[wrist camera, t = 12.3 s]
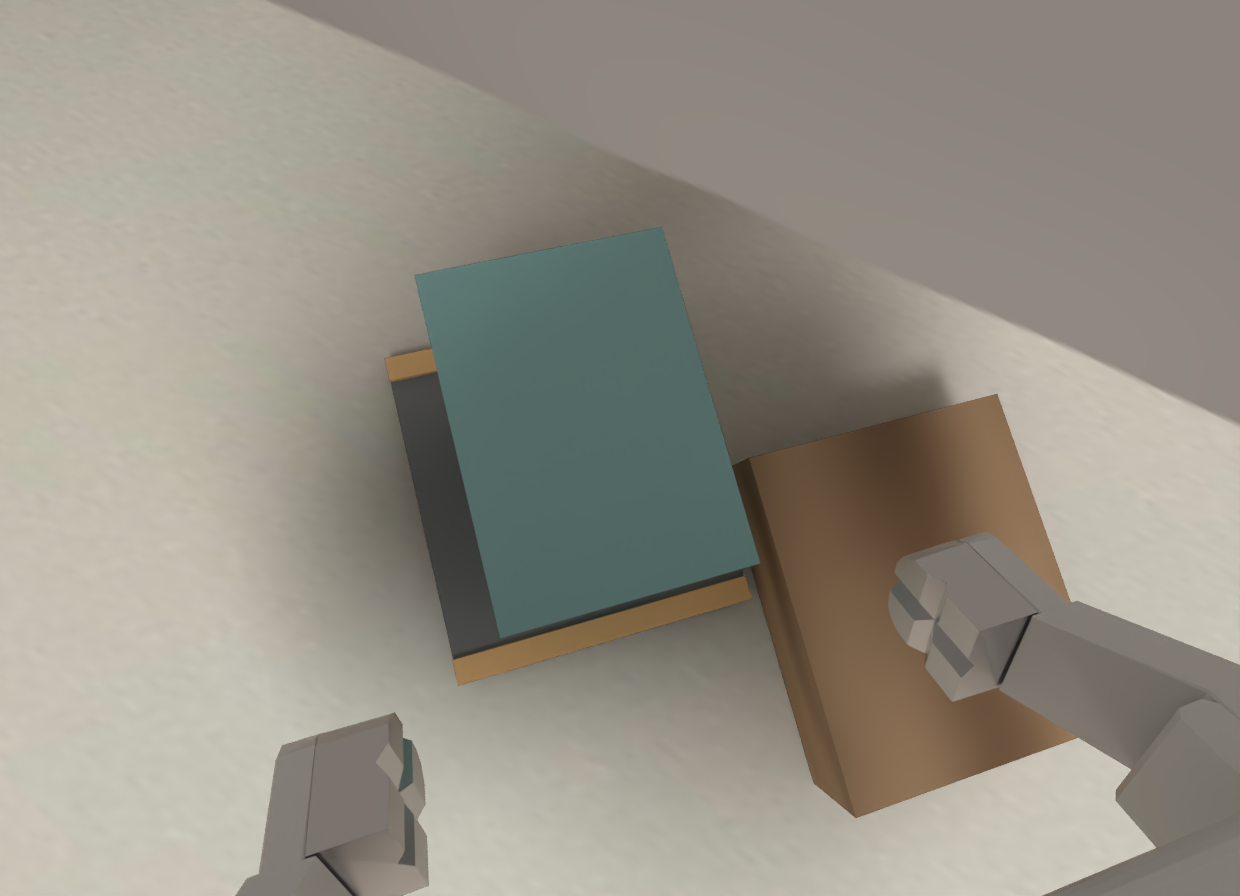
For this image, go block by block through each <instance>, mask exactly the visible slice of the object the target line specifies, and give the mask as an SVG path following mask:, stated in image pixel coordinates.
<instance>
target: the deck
mask: <svg viewBox="0 0 1240 896" xmlns="http://www.w3.org/2000/svg"><path fill="white" fill-rule="evenodd" d="M732 468H733V472H734V475H735V479H736V482H737V485H738V489H739V492H740V496H741V499H742V503H743V506H744V509H745V513H746V516H747V520H748V523H749V526H750V530H751V533H752V537H753V540H754V543H755V547H756V550H757V554H758V557H759V561H760V564H757V565H753V566H751V568H752V572H753V575H754V579H755V582H756V586H757V589H758V592H759V596H760V599H761V603H762V606H763V610H764V613H765V617H766V620H767V623H768V627H769V630H770V634H771V637H772V641H773V644H774V648H775V651H776V654H777V658H778V661H779V665H780V668H781V672H782V675H783V678H784V682H785V685H786V689H787V692H788V696H789V699H790V703H791V706H792V709H793V713H794V716H795V720H796V723H797V727H798V730H799V734H800V737H801V740H802V744H803V747H804V751H805V754H806V758H807V761H808V765H809V768H810V771H811V775H812V778H813V782H814V784H815V785H817V786H818V787H819V788H820V789H821V790H823V791H824V792H825V793H826V794H828V795H829V796H830V797H831V798H832V799H834V800H835V801H836V802H837V803H838V804H840V805H841V806H842V807H843V808H844V809H846V810H847V811H848V812H849V813H850V814H852V815H853V816H854V817H855V818H858V817H860V816H863V815H866V814H869V813H871V812H874V811H877V810H880V809H882V808H885V807H888V806H891V805H893V804H896V803H899V802H902V801H904V800H907V799H910V798H913V797H915V796H918V795H921V794H924V793H927V792H929V791H932V790H935V789H938V788H940V787H943V786H946V785H949V784H951V783H954V782H957V781H960V780H962V779H965V778H968V777H971V776H973V775H976V774H979V773H982V772H984V771H987V770H990V769H993V768H996V767H998V766H1001V765H1004V764H1007V763H1009V762H1012V761H1015V760H1018V759H1020V758H1023V757H1026V756H1029V755H1031V754H1034V753H1037V752H1040V751H1042V750H1045V749H1048V748H1051V747H1054V746H1056V745H1059V744H1062V743H1065V742H1067V741H1070V740H1073V739H1076V738H1078V737H1077V736H1075V735H1073V734H1072V733H1070V732H1068V731H1067V730H1065V729H1063V728H1062V727H1060V726H1058V725H1057V724H1055V723H1053V722H1052V721H1050V720H1048V719H1047V718H1045V717H1043V716H1042V715H1040V714H1038V713H1037V712H1035V711H1033V710H1032V709H1030V708H1028V707H1027V706H1025V705H1023V704H1022V703H1020V702H1018V701H1017V700H1015V699H1013V698H1012V697H1010V696H1008V695H1007V694H1005V693H1003V692H1002V691H1000V690H999V689H1000V687H998V688H995V689H991V690H988V691H985V692H982V693H979V694H976V695H973V696H969V697H966V698H963V699H960V700H957V701H954V702H952V701H951V700H950V699H949V697H948V696H947V695H946V694H945V692H944V691H943V690H942V688H941V687H940V686H939V685H938V683H937V682H936V681H935V680H934V678H933V677H932V676H931V674H930V673H929V672H928V671H927V669H926V668H925V655H924V653H923V652H921V651H919V650H917V649H915V648H913V647H911V646H909V645H907V644H906V642H905V641H904V640H903V638H902V637H901V636H900V634H899V633H898V632H897V630H896V628H895V626H894V624H893V622H892V620H891V616H890V612H889V608H888V600H889V594H890V590H891V589H892V588H893V587H894V586H895V585H896V583H897V582H898V581H899V580H900V579H899V578H898V576H897V575H896V574H895V573H894V572H895V568H896V564H897V562H898V561H899V560H900V559H901V558H902V557H903V556H906V555H909V554H912V553H915V552H919V551H922V550H925V549H928V548H931V547H934V546H937V545H940V544H943V543H946V542H949V541H952V540H954V541H956V540H959V539H962V538H965V537H968V536H971V535H974V534H977V533H982V532H987V533H990V534H992V535H994V536H995V537H997V538H998V539H999V540H1000V541H1001V542H1002V543H1003V544H1005V545H1006V546H1007V547H1008V548H1009V549H1010V550H1011V551H1012V552H1013V553H1014V554H1016V555H1017V556H1018V557H1019V558H1020V559H1021V560H1022V561H1023V562H1024V563H1025V564H1027V565H1028V566H1029V567H1030V568H1031V569H1032V570H1033V571H1034V572H1035V573H1036V574H1038V575H1039V576H1040V577H1041V578H1042V579H1043V580H1044V581H1045V582H1046V583H1047V584H1048V585H1050V586H1051V587H1052V588H1053V589H1054V590H1055V591H1056V592H1057V593H1058V594H1059V595H1061V596H1062V597H1063V598H1064V599H1065V600H1066V601H1067V602H1068V603H1071V602H1070V599H1069V596H1068V593H1067V590H1066V588H1065V585H1064V582H1063V579H1062V576H1061V573H1060V571H1059V568H1058V565H1057V562H1056V559H1055V556H1054V554H1053V551H1052V548H1051V545H1050V542H1049V539H1048V537H1047V534H1046V531H1045V528H1044V525H1043V522H1042V520H1041V517H1040V514H1039V511H1038V508H1037V505H1036V503H1035V500H1034V497H1033V494H1032V491H1031V488H1030V486H1029V483H1028V480H1027V477H1026V474H1025V471H1024V469H1023V466H1022V463H1021V460H1020V457H1019V455H1018V452H1017V449H1016V446H1015V443H1014V440H1013V438H1012V435H1011V432H1010V429H1009V426H1008V423H1007V421H1006V418H1005V415H1004V412H1003V409H1002V406H1001V404H1000V401H999V398H998V395H997V394H995V395H991V396H987V397H983V398H979V399H975V400H971V401H967V402H964V403H960V404H956V405H952V406H948V407H944V408H940V409H937V410H933V411H929V412H925V413H921V414H917V415H913V416H910V417H906V418H902V419H898V420H894V421H890V422H886V423H883V424H879V425H875V426H871V427H867V428H863V429H859V430H856V431H852V432H848V433H844V434H840V435H836V436H832V437H829V438H825V439H821V440H817V441H813V442H809V443H805V444H802V445H798V446H794V447H790V448H786V449H782V450H778V451H774V452H771V453H767V454H763V455H759V456H755V457H751V458H748V459H746V460H744V461H742V462H740V463H738V464H736V465H734V466H732Z"/></svg>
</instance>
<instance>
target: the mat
mask: <svg viewBox="0 0 1240 896" xmlns="http://www.w3.org/2000/svg"><path fill="white" fill-rule="evenodd" d="M385 363H386V367H387V372H388V376H389V381H390V382H391V385H392V389H393V394H394V398H395V403H396V407H397V412H398V416H399V420H400V425H401V429H402V434H403V438H404V443H405V447H406V451H407V456H408V460H409V465H410V469H411V474H412V478H413V483H414V487H415V491H416V496H417V500H418V505H419V509H420V514H421V518H422V522H423V527H424V531H425V536H426V540H427V545H428V549H429V554H430V558H431V562H432V567H433V571H434V576H435V580H436V585H437V589H438V593H439V598H440V602H441V607H442V611H443V616H444V620H445V625H446V629H447V633H448V638H449V642H450V647H451V651H452V656H453V665H454V669H455V674H456V678H457V682H458V686H459V685H463V684H466V683H469V682H473V681H476V680H479V679H483V678H486V677H490V676H493V675H496V674H500V673H503V672H506V671H510V670H513V669H517V668H520V667H523V666H527V665H530V664H534V663H537V662H540V661H544V660H547V659H550V658H554V657H557V656H561V655H564V654H567V653H571V652H574V651H577V650H581V649H584V648H588V647H591V646H594V645H598V644H601V643H605V642H608V641H611V640H615V639H618V638H621V637H625V636H628V635H632V634H635V633H638V632H642V631H645V630H648V629H652V628H655V627H659V626H662V625H665V624H669V623H672V622H676V621H679V620H682V619H686V618H689V617H692V616H696V615H699V614H703V613H706V612H709V611H713V610H716V609H720V608H723V607H726V606H730V605H733V604H736V603H740V602H743V601H747V600H750V599H752V597H751V594H750V590H749V587H748V583H747V580H746V576H744V575H743V572H742V569H740V570H736V571H733V572H729V573H726V574H722V575H719V576H715V577H712V578H708V579H705V580H701V581H698V582H694V583H691V584H687V585H684V586H680V587H677V588H673V589H670V590H667V591H663V592H660V593H656V594H653V595H649V596H646V597H642V598H639V599H635V600H632V601H628V602H625V603H621V604H618V605H614V606H611V607H607V608H604V609H600V610H597V611H594V612H590V613H587V614H583V615H580V616H576V617H573V618H569V619H566V620H562V621H559V622H555V623H552V624H548V625H545V626H541V627H538V628H534V629H531V630H527V631H524V632H520V633H517V634H514V635H510V636H507V637H503V638H500V635H499V631H498V627H497V622H496V618H495V614H494V610H493V605H492V601H491V597H490V593H489V588H488V584H487V580H486V576H485V572H484V567H483V563H482V559H481V555H480V550H479V546H478V542H477V538H476V533H475V529H474V525H473V521H472V516H471V512H470V508H469V504H468V500H467V495H466V491H465V487H464V483H463V478H462V474H461V470H460V466H459V461H458V457H457V453H456V449H455V445H454V440H453V436H452V432H451V428H450V423H449V419H448V415H447V411H446V406H445V402H444V398H443V394H442V389H441V385H440V381H439V377H438V373H437V368H436V364H435V360H434V356H433V351H432V348H431V349H426V350H422V351H417V352H412V353H408V354H403V355H398V356H393V357H389V358H385Z"/></svg>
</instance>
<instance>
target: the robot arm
mask: <svg viewBox="0 0 1240 896" xmlns="http://www.w3.org/2000/svg"><path fill="white" fill-rule="evenodd" d="M894 573H895V574H896V575H897V576H898V578H899V579H900V580H899V581H898V582H897V583H896V585H895V586H894V587H893V588H892V589H891V590H890V594H889V600H888V608H889V612H890V616H891V620H892V622H893V624H894V626H895V628H896V630H897V632H898V633H899V634H900V636H901V637H902V638H903V640H904V641H905V642H906V644H907V645H909V646H911V647H913V648H915V649H917V650H919V651H921V652H923V653H924V655H925V668H926V669H927V671H928V672H929V673H930V674H931V676H932V677H933V678H934V680H935V681H936V682H937V683H938V685H939V686H940V687H941V688H942V690H943V691H944V692H945V694H946V695H947V696H948V697H949V699H950V700H951V701H952V702H954V701H957V700H960V699H963V698H966V697H969V696H973V695H976V694H979V693H982V692H985V691H988V690H991V689H995V688H998V687H1000V689H999V690H1000V691H1002V692H1003V693H1005V694H1007V695H1008V696H1010V697H1012V698H1013V699H1015V700H1017V701H1018V702H1020V703H1022V704H1023V705H1025V706H1027V707H1028V708H1030V709H1032V710H1033V711H1035V712H1037V713H1038V714H1040V715H1042V716H1043V717H1045V718H1047V719H1048V720H1050V721H1052V722H1053V723H1055V724H1057V725H1058V726H1060V727H1062V728H1063V729H1065V730H1067V731H1068V732H1070V733H1072V734H1073V735H1075V736H1077V737H1078V738H1080V739H1082V740H1083V741H1085V742H1087V743H1088V744H1090V745H1092V746H1093V747H1095V748H1097V749H1098V750H1100V751H1102V752H1103V753H1105V754H1107V755H1108V756H1110V757H1112V758H1113V759H1115V760H1117V761H1118V762H1120V763H1122V764H1123V765H1125V766H1127V767H1128V768H1130V769H1132V770H1131V771H1130V772H1129V774H1128V775H1127V776H1126V778H1125V779H1124V780H1123V782H1122V783H1121V784H1120V785H1119V787H1118V788H1117V789H1116V802H1117V803H1118V804H1119V805H1120V806H1121V807H1122V808H1123V810H1124V811H1125V812H1126V813H1127V814H1128V815H1129V816H1130V818H1131V819H1132V820H1133V821H1134V822H1135V823H1136V825H1137V826H1138V827H1139V828H1140V829H1141V830H1142V831H1143V833H1144V834H1145V835H1146V836H1147V837H1148V838H1149V839H1150V841H1151V842H1152V843H1153V844H1154V845H1155V846H1156V848H1155V849H1153V850H1150V851H1148V852H1146V853H1143V854H1141V855H1138V856H1136V857H1134V858H1131V859H1129V860H1126V861H1124V862H1122V863H1119V864H1117V865H1114V866H1112V867H1110V868H1107V869H1105V870H1103V871H1100V872H1098V873H1095V874H1093V875H1091V876H1088V877H1086V878H1083V879H1081V880H1079V881H1076V882H1074V883H1071V884H1069V885H1067V886H1064V887H1062V888H1059V889H1057V890H1055V891H1052V892H1050V893H1048V894H1045V895H1043V896H1240V665H1239V664H1236V663H1233V662H1231V661H1228V660H1226V659H1223V658H1221V657H1218V656H1216V655H1213V654H1211V653H1208V652H1206V651H1203V650H1200V649H1198V648H1195V647H1193V646H1190V645H1188V644H1185V643H1183V642H1180V641H1178V640H1175V639H1173V638H1170V637H1167V636H1165V635H1162V634H1160V633H1157V632H1155V631H1152V630H1150V629H1147V628H1145V627H1142V626H1140V625H1137V624H1134V623H1132V622H1129V621H1127V620H1124V619H1122V618H1119V617H1117V616H1114V615H1112V614H1109V613H1107V612H1104V611H1101V610H1099V609H1096V608H1094V607H1091V606H1089V605H1086V604H1084V603H1081V602H1079V601H1076V602H1072V603H1068V602H1067V601H1066V600H1065V599H1064V598H1063V597H1062V596H1061V595H1059V594H1058V593H1057V592H1056V591H1055V590H1054V589H1053V588H1052V587H1051V586H1050V585H1048V584H1047V583H1046V582H1045V581H1044V580H1043V579H1042V578H1041V577H1040V576H1039V575H1038V574H1036V573H1035V572H1034V571H1033V570H1032V569H1031V568H1030V567H1029V566H1028V565H1027V564H1025V563H1024V562H1023V561H1022V560H1021V559H1020V558H1019V557H1018V556H1017V555H1016V554H1014V553H1013V552H1012V551H1011V550H1010V549H1009V548H1008V547H1007V546H1006V545H1005V544H1003V543H1002V542H1001V541H1000V540H999V539H998V538H997V537H995V536H994V535H992V534H990V533H987V532H982V533H977V534H974V535H971V536H968V537H965V538H962V539H959V540H956V541H954V540H952V541H949V542H946V543H943V544H940V545H937V546H934V547H931V548H928V549H925V550H922V551H919V552H915V553H912V554H909V555H906V556H903V557H902V558H901V559H900V560H899V561H898V562H897V564H896V568H895V572H894ZM425 804H426V802H425V785H424V778H423V772H422V767H421V762H420V759H419V756H418V753H417V750H416V748H415V746H414V744H413V742H412V741H411V740H408V739H405V738H403V724H402V723H401V721H400V720H399V718H398V717H397V715H396V713H391V714H388V715H384V716H381V717H378V718H374V719H371V720H367V721H364V722H360V723H357V724H354V725H350V726H347V727H343V728H340V729H336V730H333V731H330V732H326V733H321V734H318V735H315V736H311V737H308V738H305V739H302V740H298V741H295V742H292V743H288V744H285V745H282V747H281V749H280V752H279V754H278V756H277V758H276V762H275V768H274V775H273V782H272V788H271V795H270V802H269V808H268V815H267V822H266V829H265V835H264V842H263V849H262V855H261V862H260V869H259V874H257V875H254V876H252V877H249V878H247V879H246V880H245V882H244V883H243V885H242V886H241V888H240V890H239V891H238V893H237V894H236V896H403V895H406V894H408V893H411V892H414V891H416V890H419V889H422V888H424V887H427V886H429V876H428V849H427V835H426V833H425V832H424V830H423V829H422V827H421V825H420V824H419V822H418V820H417V819H418V817H419V815H420V814H421V812H422V810H423V808H424V806H425Z"/></svg>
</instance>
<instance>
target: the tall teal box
mask: <svg viewBox="0 0 1240 896" xmlns="http://www.w3.org/2000/svg"><path fill="white" fill-rule="evenodd" d="M415 279H416V284H417V288H418V292H419V296H420V301H421V305H422V309H423V313H424V318H425V322H426V326H427V330H428V334H429V339H430V343H431V347H432V351H433V356H434V360H435V364H436V368H437V373H438V377H439V381H440V385H441V389H442V394H443V398H444V402H445V406H446V411H447V415H448V419H449V423H450V428H451V432H452V436H453V440H454V445H455V449H456V453H457V457H458V461H459V466H460V470H461V474H462V478H463V483H464V487H465V491H466V495H467V500H468V504H469V508H470V512H471V516H472V521H473V525H474V529H475V533H476V538H477V542H478V546H479V550H480V555H481V559H482V563H483V567H484V572H485V576H486V580H487V584H488V588H489V593H490V597H491V601H492V605H493V610H494V614H495V618H496V622H497V627H498V631H499V635H500V638H503V637H507V636H510V635H514V634H517V633H520V632H524V631H527V630H531V629H534V628H538V627H541V626H545V625H548V624H552V623H555V622H559V621H562V620H566V619H569V618H573V617H576V616H580V615H583V614H587V613H590V612H594V611H597V610H600V609H604V608H607V607H611V606H614V605H618V604H621V603H625V602H628V601H632V600H635V599H639V598H642V597H646V596H649V595H653V594H656V593H660V592H663V591H667V590H670V589H673V588H677V587H680V586H684V585H687V584H691V583H694V582H698V581H701V580H705V579H708V578H712V577H715V576H719V575H722V574H726V573H729V572H733V571H736V570H740V569H743V568H746V567H750V566H753V565H757V564H760V561H759V557H758V554H757V550H756V547H755V543H754V540H753V537H752V533H751V530H750V526H749V523H748V520H747V516H746V513H745V509H744V506H743V503H742V499H741V496H740V492H739V489H738V485H737V482H736V479H735V475H734V472H733V468H732V465H731V462H730V458H729V455H728V451H727V448H726V445H725V441H724V438H723V434H722V431H721V427H720V424H719V421H718V417H717V414H716V410H715V407H714V404H713V400H712V397H711V393H710V390H709V387H708V383H707V380H706V376H705V373H704V369H703V366H702V363H701V359H700V356H699V352H698V349H697V346H696V342H695V339H694V335H693V332H692V329H691V325H690V322H689V318H688V315H687V311H686V308H685V305H684V301H683V298H682V294H681V291H680V288H679V284H678V281H677V277H676V274H675V271H674V267H673V264H672V260H671V257H670V253H669V250H668V247H667V243H666V240H665V236H664V233H663V230H662V227H659V228H654V229H649V230H643V231H638V232H633V233H628V234H623V235H618V236H613V237H608V238H602V239H597V240H592V241H587V242H582V243H577V244H572V245H567V246H561V247H556V248H551V249H546V250H541V251H536V252H531V253H526V254H520V255H515V256H510V257H505V258H500V259H495V260H490V261H485V262H479V263H474V264H469V265H464V266H459V267H454V268H449V269H444V270H438V271H433V272H428V273H423V274H418V275H415Z"/></svg>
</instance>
